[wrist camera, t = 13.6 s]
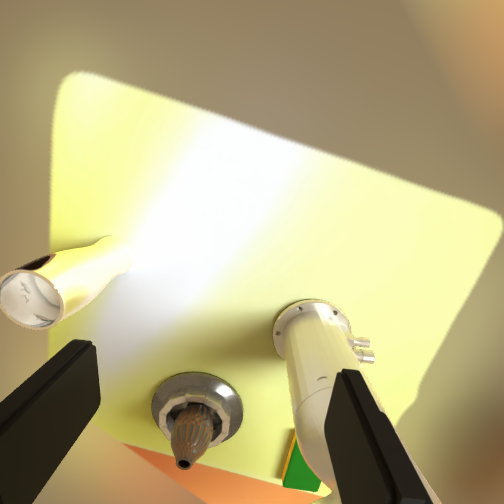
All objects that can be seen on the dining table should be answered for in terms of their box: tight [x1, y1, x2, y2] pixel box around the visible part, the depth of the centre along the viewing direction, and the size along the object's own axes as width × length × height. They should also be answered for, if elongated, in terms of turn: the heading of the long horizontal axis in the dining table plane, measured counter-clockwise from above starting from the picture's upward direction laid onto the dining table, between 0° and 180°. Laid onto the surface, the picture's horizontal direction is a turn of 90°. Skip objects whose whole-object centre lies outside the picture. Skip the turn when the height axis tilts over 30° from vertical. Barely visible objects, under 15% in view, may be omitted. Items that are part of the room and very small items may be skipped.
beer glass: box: [0, 236, 135, 330], centre depth 31 cm, size 7×7×15 cm
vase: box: [171, 404, 213, 470], centre depth 42 cm, size 7×7×9 cm
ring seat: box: [151, 372, 243, 448], centre depth 45 cm, size 17×17×3 cm
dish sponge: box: [282, 432, 321, 492], centre depth 49 cm, size 7×14×2 cm, turn 170°
